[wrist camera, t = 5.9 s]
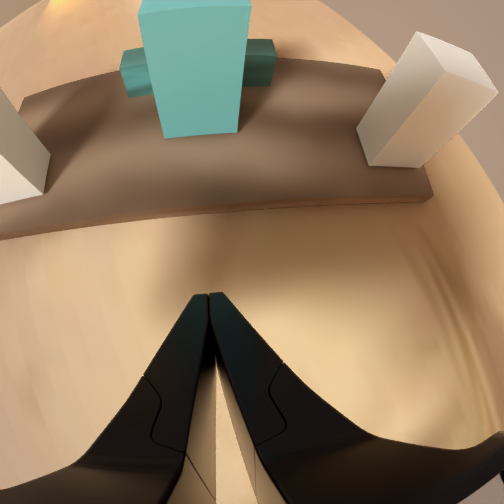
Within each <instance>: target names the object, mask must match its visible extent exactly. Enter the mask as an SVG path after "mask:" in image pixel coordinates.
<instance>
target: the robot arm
mask: <svg viewBox="0 0 504 504" xmlns="http://www.w3.org/2000/svg"><path fill="white" fill-rule="evenodd" d="M216 364H217V369H218V374H219V377H220V381H221V385H222V389H223V392H224V396H225V399H226V403H227V407H228V410H229V414H230V417H231V420H232V424H233V427H234V431H235V434H236V437H237V441H238V444H239V447H240V450H241V453H242V457H243V460H244V463H245V466H246V469H247V472H248V475H249V478H250V481H251V484H252V487H253V490H254V493H255V496H256V499H257V502H258V504H504V431H499V432H497V433H495V434H493V435H492V436H491V437H489V438H488V439H486V440H485V441H483V442H482V443H481V444H479V445H477V446H475V447H471V448H467V449H459V450H452V449H442V448H435V447H428V446H422V445H416V444H410V443H405V442H399V441H394V440H389V439H385V438H381V437H378V436H375V435H373V434H371V433H368V432H367V431H365V430H363V429H361V428H360V427H359V426H357V425H356V424H354V423H353V422H352V421H350V420H349V419H348V418H346V417H345V416H344V415H343V414H341V413H340V412H339V411H337V410H336V409H335V408H334V407H332V406H331V405H330V404H328V403H327V402H326V401H325V400H323V399H322V398H321V397H320V396H319V395H317V394H316V393H315V392H314V391H313V390H312V389H310V388H309V387H308V386H307V385H306V384H305V383H304V382H303V381H302V380H301V379H300V378H299V377H298V376H297V375H296V374H295V373H294V372H293V371H292V370H291V369H290V368H289V367H288V366H287V365H286V363H283V360H282V359H281V358H280V357H279V356H278V355H277V354H276V353H275V351H274V350H273V349H272V348H271V347H270V346H269V345H268V344H267V343H266V341H265V340H264V339H263V338H262V337H261V336H260V335H259V333H258V332H257V331H256V330H255V329H254V328H253V327H252V325H251V324H250V323H249V322H248V321H247V320H246V319H245V317H244V316H243V315H242V314H241V313H240V312H239V310H238V309H237V308H236V307H235V306H234V305H233V303H232V302H231V301H230V300H229V299H228V298H227V296H226V295H225V294H224V293H223V292H216V293H210V294H209V295H208V294H195V295H193V296H192V298H191V299H190V301H189V302H188V304H187V306H186V307H185V309H184V310H183V312H182V313H181V315H180V317H179V318H178V320H177V321H176V323H175V324H174V326H173V328H172V329H171V331H170V332H169V334H168V336H167V337H166V339H165V340H164V342H163V344H162V345H161V347H160V348H159V350H158V352H157V353H156V355H155V356H154V358H153V360H152V361H151V363H150V364H149V366H148V368H147V369H146V371H145V373H144V374H143V375H144V376H142V377H141V379H140V380H139V382H138V384H137V385H136V387H135V388H134V390H133V391H132V393H131V395H130V396H129V398H128V399H127V401H126V402H125V403H124V405H123V406H122V407H121V409H120V410H119V411H118V413H117V414H116V415H115V417H114V418H113V419H112V420H111V422H110V423H109V424H108V425H107V427H106V428H105V429H104V430H103V432H102V433H101V434H100V435H99V437H98V438H97V439H96V440H95V442H94V443H93V444H92V445H91V447H90V448H89V449H88V450H87V451H86V453H85V454H84V455H83V456H82V457H81V458H79V459H78V460H77V461H76V462H74V463H73V464H71V465H69V466H67V467H65V468H62V469H60V470H58V471H55V472H53V473H50V474H47V475H45V476H42V477H40V478H37V479H34V480H31V481H29V482H26V483H23V484H20V485H17V486H14V487H11V488H7V489H3V490H0V504H216V502H215V501H216Z"/></svg>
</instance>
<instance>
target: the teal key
mask: <svg viewBox="0 0 504 504" xmlns="http://www.w3.org/2000/svg"><path fill="white" fill-rule="evenodd" d="M250 12H251V3H250V0H143V1H142V4H141V6H140V9H139V12H138V19H139V25H140V30H141V36H142V41H143V46H144V51H145V56H146V61H147V65H148V70H149V75H150V79H151V84H152V88H153V93H154V97H155V101H156V106H157V110H158V114H159V118H160V122H161V127H162V131H163V135H164V139H167V138H175V137H185V136H195V135H207V134H221V133H237V127H238V117H239V108H240V98H241V89H242V79H243V70H244V62H245V53H246V44H247V36H248V28H249V20H250Z"/></svg>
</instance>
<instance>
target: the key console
mask: <svg viewBox="0 0 504 504" xmlns="http://www.w3.org/2000/svg"><path fill="white" fill-rule="evenodd" d="M119 69H120V71H115V72H110V73H106V74H101V75H97V76H93V77H89V78H85V79H81V80H78V81H74V82H70V83H67V84H64V85H60V86H57V87H54V88H51V89H48V90H45V91H42V92H39V93H36V94H33V95H30V96H28V97H25V98H24V100H23V102H22V105H21V107H20V110H19V112H18V113H19V114H20V116H21V117H22V118H23V120H24V121H25V122H26V124H27V125H28V126H29V128H30V129H31V130H32V132H33V133H34V134H35V135H36V137H37V138H38V139H39V140H40V142H41V143H42V144H43V146H44V147H45V148H46V149H47V150H48V152H49V153H50V154H51V155H50V160H49V165H48V170H47V175H46V181H45V187H44V193H43V195H39V196H34V197H30V198H25V199H21V200H17V201H13V202H9V203H5V204H1V205H0V240H6V239H12V238H18V237H24V236H30V235H36V234H42V233H49V232H56V231H62V230H69V229H76V228H84V227H91V226H98V225H106V224H114V223H122V222H131V221H139V220H148V219H157V218H166V217H176V216H186V215H196V214H207V213H218V212H230V211H242V210H255V209H269V208H284V207H300V206H318V205H338V204H362V203H394V202H425V201H427V200H428V199H430V198H431V197H432V196H434V195H433V191H432V188H431V185H430V182H429V179H428V177H427V174H426V171H425V168H424V165H422V166H421V167H420V168H411V167H390V166H368V162H367V159H366V156H365V153H364V150H363V147H362V144H361V141H360V138H359V135H358V133H357V130H356V128H357V126H358V125H359V123H360V121H361V120H362V118H363V117H364V115H365V114H366V112H367V110H368V109H369V107H370V106H371V104H372V102H373V101H374V99H375V98H376V96H377V94H378V93H379V91H380V90H381V88H382V86H383V85H384V83H385V82H386V80H385V78H384V76H383V74H382V73H381V71H380V70H378V69H373V68H367V67H361V66H355V65H348V64H341V63H333V62H324V61H314V60H302V59H286V58H277V54H276V51H275V48H274V44H273V41H272V39H247V44H246V53H245V62H244V70H243V79H242V89H241V98H240V108H239V117H238V127H237V133H221V134H207V135H195V136H185V137H175V138H167V139H164V135H163V131H162V127H161V122H160V118H159V114H158V110H157V106H156V101H155V97H154V93H153V88H152V84H151V79H150V75H149V70H148V65H147V61H146V56H145V51H144V47H142V48H137V49H131V50H126V51H124V53H123V56H122V60H121V64H120V68H119Z"/></svg>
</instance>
